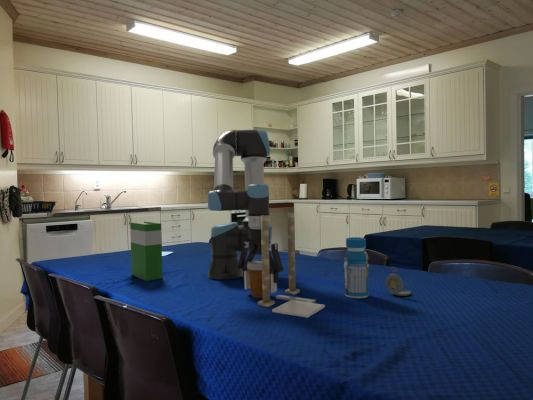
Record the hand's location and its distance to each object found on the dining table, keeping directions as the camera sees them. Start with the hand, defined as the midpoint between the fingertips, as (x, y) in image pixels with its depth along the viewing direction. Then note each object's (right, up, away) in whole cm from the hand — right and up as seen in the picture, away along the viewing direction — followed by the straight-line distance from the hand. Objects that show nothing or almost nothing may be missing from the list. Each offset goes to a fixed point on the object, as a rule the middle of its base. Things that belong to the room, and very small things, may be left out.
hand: (260, 290), depth 146 cm
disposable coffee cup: (0, -2, 0) cm, 2 cm away
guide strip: (+12, -2, -7) cm, 14 cm away
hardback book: (-51, -2, +38) cm, 64 cm away
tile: (+12, -2, -18) cm, 22 cm away
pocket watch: (+48, -1, -3) cm, 48 cm away
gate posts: (+7, -2, -4) cm, 8 cm away
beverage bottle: (+33, -1, -3) cm, 34 cm away
